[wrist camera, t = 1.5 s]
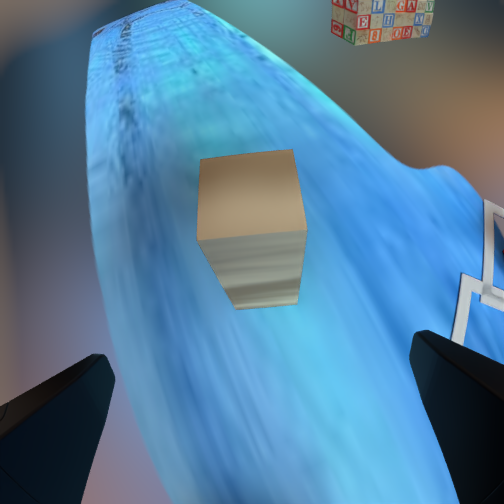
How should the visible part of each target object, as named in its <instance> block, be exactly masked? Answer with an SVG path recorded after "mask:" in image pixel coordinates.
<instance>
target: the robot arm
mask: <svg viewBox="0 0 504 504" xmlns="http://www.w3.org/2000/svg"><path fill="white" fill-rule="evenodd" d="M409 360H410V364H411V368H412V371H413V374H414V377H415V380H416V383H417V386H418V390H419V393H420V396H421V400H422V403H423V405H424V408H425V410H426V413H427V415H428V418H429V420H430V422H431V425H432V427H433V430H434V432H435V435H436V437H437V440H438V443H439V445H440V448H441V450H442V453H443V456H444V459H445V461H446V464H447V467H448V470H449V472H450V475H451V478H452V481H453V484H454V487H455V490H456V493H457V497H458V500H459V503H460V504H504V365H503V364H501V363H499V362H497V361H494V360H492V359H490V358H488V357H486V356H484V355H482V354H479V353H477V352H475V351H473V350H471V349H469V348H466V347H464V346H462V345H460V344H458V343H456V342H453V341H451V340H449V339H447V338H445V337H443V336H440V335H438V334H436V333H434V332H432V331H430V330H423V331H418V332H416V333H415V334H414V336H413V340H412V345H411V350H410V355H409ZM114 384H115V375H114V373H113V370H112V368H111V366H110V363H109V361H108V359H107V357H106V356H105V355H104V354H91V355H90V356H88V357H86V358H85V359H83V360H81V361H79V362H77V363H76V364H74V365H72V366H71V367H69V368H67V369H65V370H63V371H62V372H60V373H58V374H56V375H55V376H53V377H51V378H49V379H48V380H46V381H44V382H42V383H41V384H39V385H37V386H36V387H34V388H32V389H30V390H28V391H27V392H25V393H23V394H21V395H19V396H18V397H16V398H14V399H13V400H11V401H9V402H7V403H5V404H3V405H2V406H0V504H81V501H82V497H83V494H84V490H85V486H86V483H87V480H88V476H89V473H90V469H91V466H92V463H93V459H94V456H95V453H96V450H97V447H98V444H99V440H100V437H101V434H102V431H103V428H104V425H105V422H106V418H107V414H108V410H109V405H110V401H111V397H112V393H113V389H114Z"/></svg>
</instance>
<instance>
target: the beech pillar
mask: <svg viewBox="0 0 504 504" xmlns="http://www.w3.org/2000/svg"><path fill="white" fill-rule="evenodd" d="M306 238H307V224H306V218H305V212H304V206H303V201H302V195H301V190H300V184H299V179H298V174H297V169H296V164H295V159H294V154H293V149H289V150H277V151H267V152H257V153H247V154H239V155H230V156H222V157H215V158H208V159H201V160H200V174H199V193H198V215H197V242H198V244H199V246H200V248H201V249H202V251H203V253H204V255H205V257H206V258H207V260H208V262H209V264H210V266H211V267H212V269H213V271H214V273H215V274H216V276H217V278H218V280H219V281H220V283H221V285H222V287H223V289H224V290H225V292H226V294H227V295H228V297H229V299H230V301H231V302H232V304H233V306H234V308H235V309H236V310H241V309H253V308H265V307H276V306H287V305H297V302H298V295H299V289H300V282H301V275H302V268H303V260H304V253H305V245H306Z"/></svg>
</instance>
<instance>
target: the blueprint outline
mask: <svg viewBox="0 0 504 504" xmlns="http://www.w3.org/2000/svg"><path fill="white" fill-rule="evenodd" d="M493 213H494V214H496V215H498V216H500V217H502V218H504V209H503V208H501V207H499V206H497V205H496V204H494V203H491V202H490V201H488V200H486V199H484V262H483V277H482V281H480V280H477V279H475V278H473V277H470V276H468V275H465V274H463V273H462V276H461V284H460V292H459V299H458V305H457V311H456V317H455V322H454V328H453V333H452V337H451V341H453V342H456V343H458V344H460V345H462V346H463V342H464V337H465V331H466V326H467V320H468V314H469V307H470V300H471V292H475V293H477V294H480V295H481V298H480V303H483V304H485V305H488V306H490V307H493V308H495V309H498V310H500V311H503V312H504V291H503V290H501V289H499V288H496V287H494V286H492V285H493V268H494V217H493Z"/></svg>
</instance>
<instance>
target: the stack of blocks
mask: <svg viewBox="0 0 504 504" xmlns="http://www.w3.org/2000/svg"><path fill="white" fill-rule="evenodd" d="M434 3H435V1H434V0H332V27H331V33H333V34H335V35H336V36H338V37H340V38H342V39H344V40H346V41H348V42H349V43H351V44H353V45H355V46H356V45H362V44H367V43H368V44H370V43H376V42H384V41H391V40H397V39H406V38H420V37H428V35H429V30H430V26H431V22H432V17H433V9H434Z"/></svg>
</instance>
